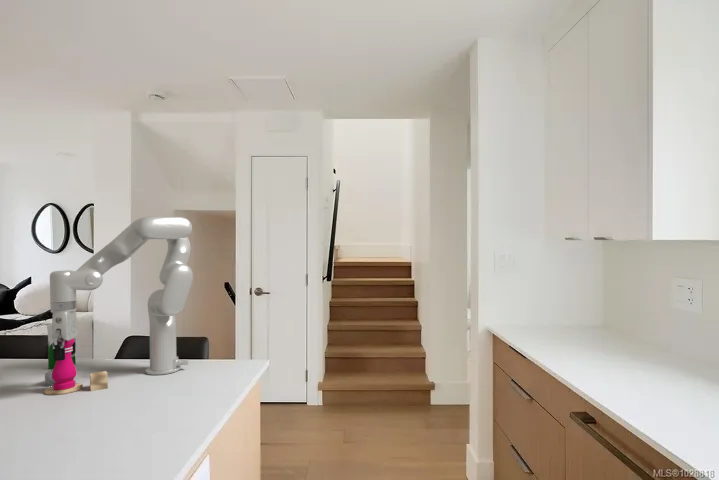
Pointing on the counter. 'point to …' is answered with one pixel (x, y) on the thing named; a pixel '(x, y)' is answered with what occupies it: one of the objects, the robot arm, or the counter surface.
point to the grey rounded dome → (49, 378)
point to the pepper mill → (65, 369)
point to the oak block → (98, 381)
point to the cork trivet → (59, 392)
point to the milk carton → (50, 350)
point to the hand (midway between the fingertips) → (65, 356)
